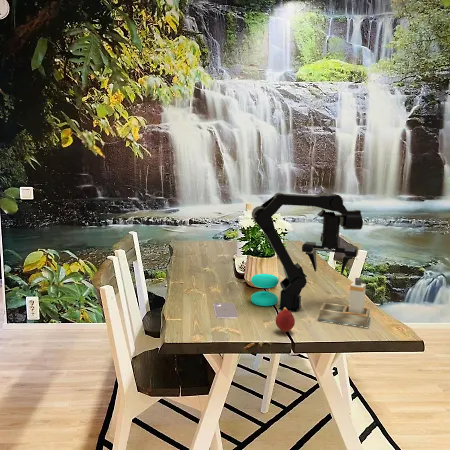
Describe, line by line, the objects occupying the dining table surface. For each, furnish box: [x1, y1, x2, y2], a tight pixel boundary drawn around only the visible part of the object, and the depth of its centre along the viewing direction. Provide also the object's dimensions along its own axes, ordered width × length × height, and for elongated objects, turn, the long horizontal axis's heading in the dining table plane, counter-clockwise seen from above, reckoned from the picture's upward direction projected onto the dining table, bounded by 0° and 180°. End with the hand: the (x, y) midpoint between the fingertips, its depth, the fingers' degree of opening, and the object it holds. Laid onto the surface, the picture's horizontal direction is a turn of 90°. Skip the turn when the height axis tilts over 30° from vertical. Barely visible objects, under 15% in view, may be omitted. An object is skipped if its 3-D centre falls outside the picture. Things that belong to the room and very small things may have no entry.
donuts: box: [250, 273, 280, 307], centre depth 167 cm, size 10×10×10 cm
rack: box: [317, 302, 371, 328], centre depth 151 cm, size 16×9×4 cm, turn 68°
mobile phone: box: [212, 302, 239, 319], centre depth 158 cm, size 8×1×15 cm
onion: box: [275, 308, 296, 334], centre depth 140 cm, size 6×6×8 cm
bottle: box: [348, 277, 367, 314], centre depth 149 cm, size 4×4×14 cm
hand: (328, 272), depth 161 cm, fingers open, 9 cm apart
